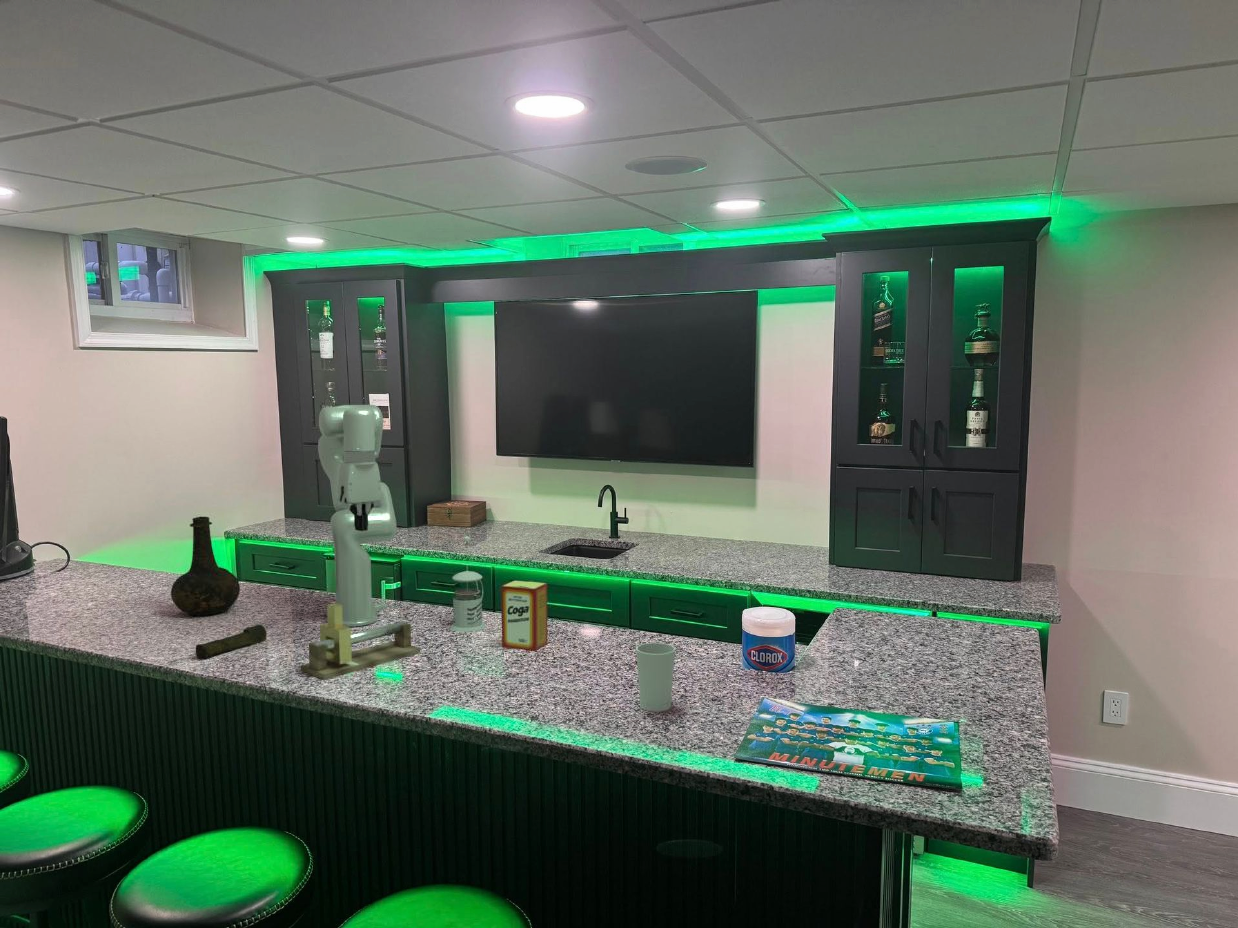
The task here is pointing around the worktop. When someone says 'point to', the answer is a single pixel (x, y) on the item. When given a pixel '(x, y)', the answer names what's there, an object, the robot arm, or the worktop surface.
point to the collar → (336, 635)
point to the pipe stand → (360, 656)
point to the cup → (655, 675)
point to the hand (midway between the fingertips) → (361, 530)
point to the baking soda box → (524, 615)
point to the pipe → (367, 635)
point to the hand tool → (232, 642)
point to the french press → (467, 602)
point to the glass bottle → (204, 578)
